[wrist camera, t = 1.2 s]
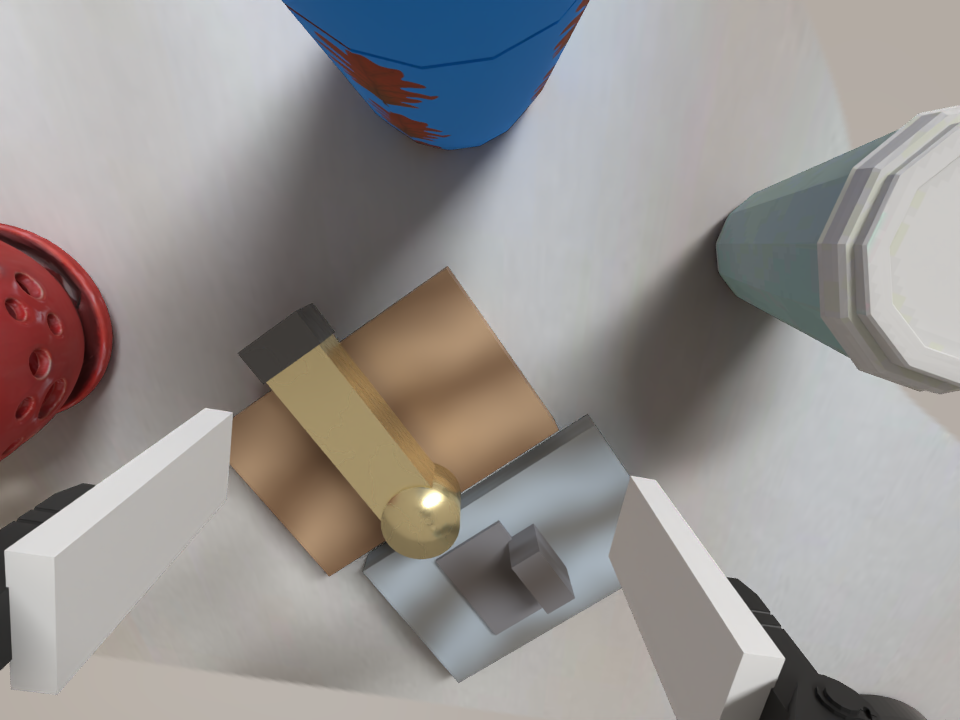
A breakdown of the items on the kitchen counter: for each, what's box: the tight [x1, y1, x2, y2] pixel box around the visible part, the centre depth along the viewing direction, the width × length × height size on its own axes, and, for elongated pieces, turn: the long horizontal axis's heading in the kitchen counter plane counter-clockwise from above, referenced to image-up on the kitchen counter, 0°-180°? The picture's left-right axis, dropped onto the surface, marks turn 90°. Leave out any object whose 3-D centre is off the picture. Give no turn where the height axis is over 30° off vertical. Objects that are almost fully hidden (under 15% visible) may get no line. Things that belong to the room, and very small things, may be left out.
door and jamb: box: [229, 266, 630, 683], centre depth 33 cm, size 24×20×5 cm
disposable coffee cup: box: [716, 105, 960, 394], centre depth 25 cm, size 11×11×15 cm
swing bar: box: [238, 303, 461, 559], centre depth 30 cm, size 15×4×3 cm, turn 35°
